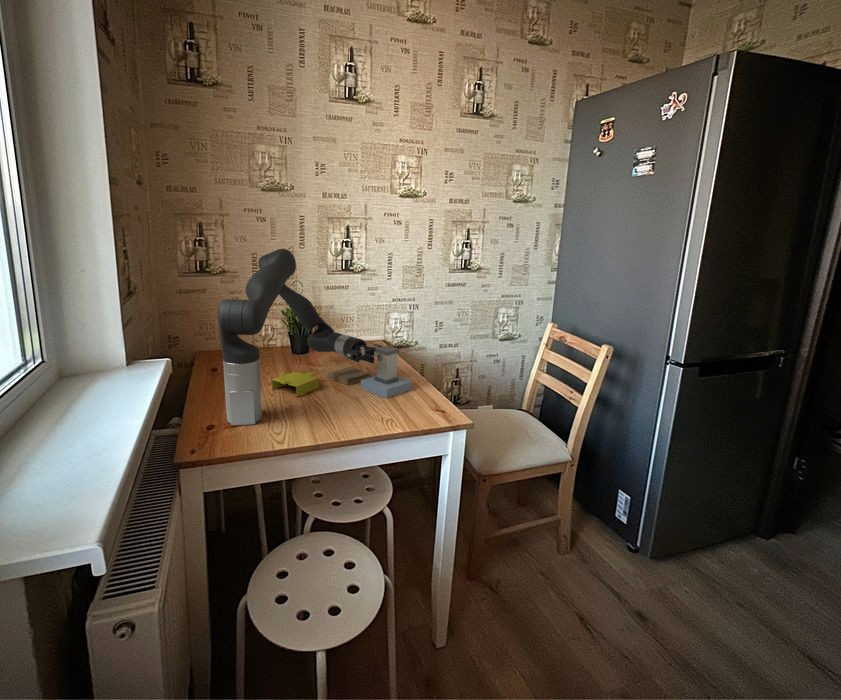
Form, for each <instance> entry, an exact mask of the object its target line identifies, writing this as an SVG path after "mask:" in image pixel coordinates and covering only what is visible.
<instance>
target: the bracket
mask: <svg viewBox="0 0 841 700" xmlns="http://www.w3.org/2000/svg"><path fill="white" fill-rule="evenodd" d="M315 374H317V371H316V370H315V371H314V370H312V371H308V372H306V373H303V372H298V371H292V372H290V373H287V374H285V373H284V372H279V376H278V377H275V378H274V379H271V390H272V391H274V390H273V389H275V390H277V389H280V388H282V387H281V386H283V387H285V386H292V387H295V396H296V397H297V396H299V397H301V396H300V395H302V394H304V395H306V394H308V393H307V392H309V393H311V392H313V391H312V390H314V391H316V390H318V389H317V388H319V389H320V378H319V377H316V376H313V375H315ZM287 384H288V385H287ZM284 385H285V386H284ZM279 387H280V388H279ZM276 388H277V389H276ZM315 389H316V390H315ZM310 391H311V392H310ZM305 393H306V394H305ZM302 396H303V395H302ZM296 397H295V398H296ZM297 398H298V397H297Z"/></svg>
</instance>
